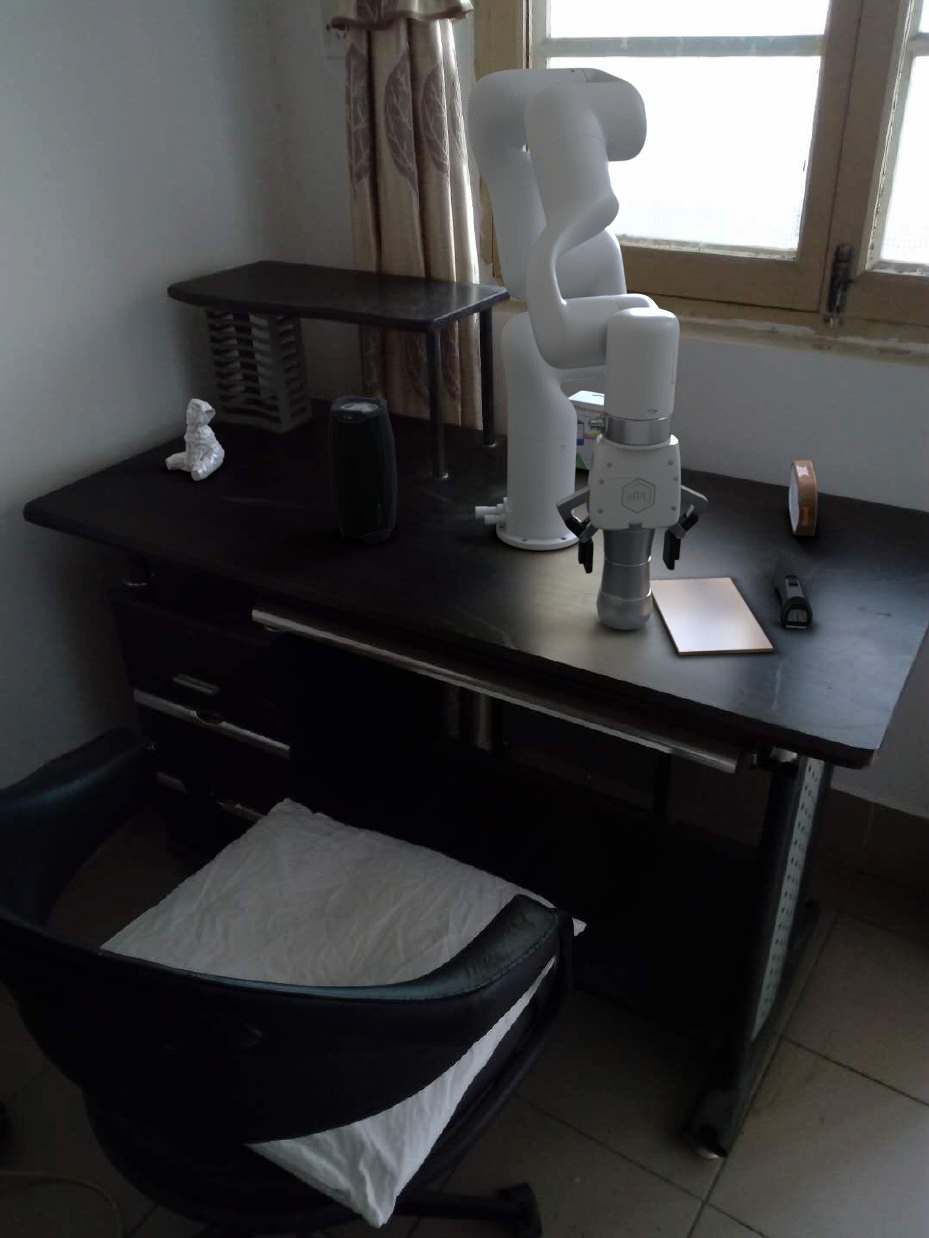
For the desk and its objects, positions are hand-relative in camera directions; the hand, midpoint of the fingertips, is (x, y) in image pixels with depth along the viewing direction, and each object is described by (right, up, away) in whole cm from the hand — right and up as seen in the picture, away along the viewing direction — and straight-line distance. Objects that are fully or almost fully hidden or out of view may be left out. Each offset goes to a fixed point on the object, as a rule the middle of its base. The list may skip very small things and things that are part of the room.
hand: (627, 566), depth 119 cm
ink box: (+2, +19, +50) cm, 54 cm away
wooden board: (+10, -6, +5) cm, 13 cm away
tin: (+30, +8, +29) cm, 42 cm away
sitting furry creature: (-64, +19, +52) cm, 85 cm away
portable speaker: (-33, +6, +28) cm, 44 cm away
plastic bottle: (0, -7, +4) cm, 8 cm away
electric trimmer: (+22, -4, +9) cm, 24 cm away
